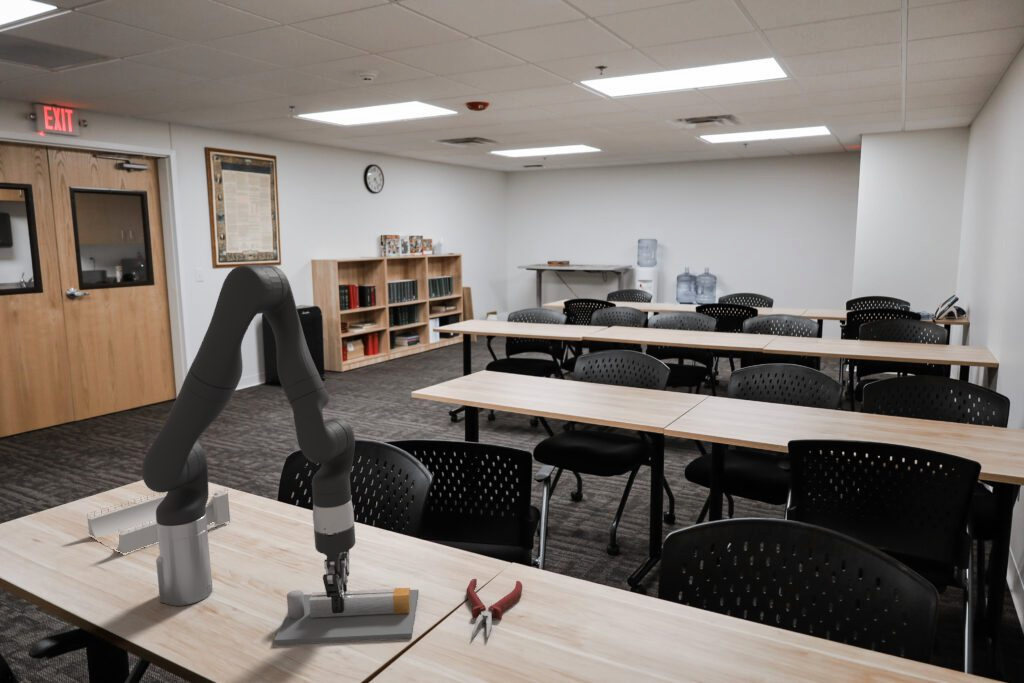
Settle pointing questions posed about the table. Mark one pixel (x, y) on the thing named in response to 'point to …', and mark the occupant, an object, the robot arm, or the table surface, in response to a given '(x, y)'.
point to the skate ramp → (145, 513)
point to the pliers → (493, 610)
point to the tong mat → (341, 624)
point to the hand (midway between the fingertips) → (340, 607)
